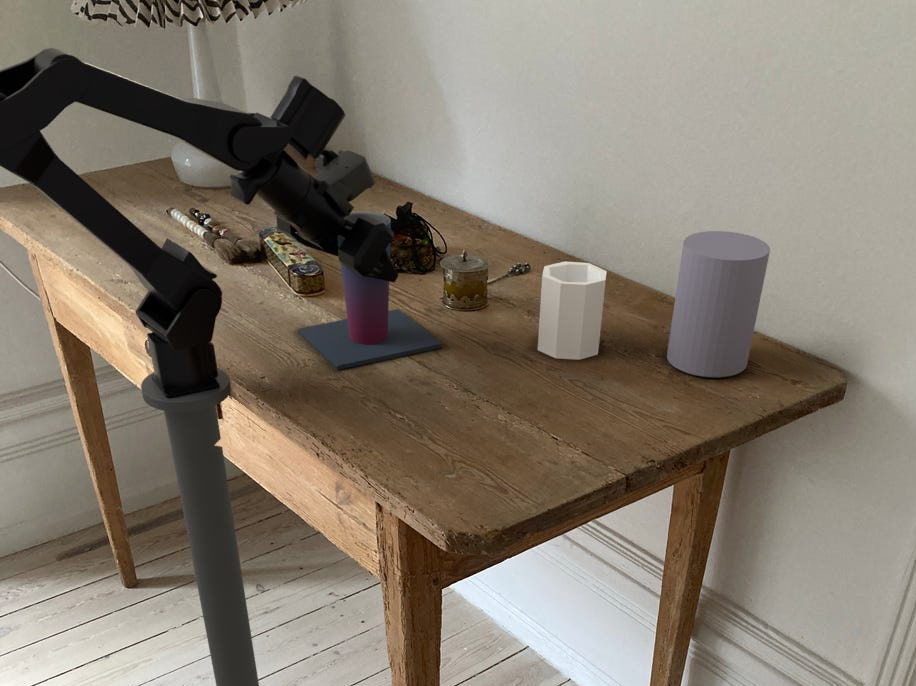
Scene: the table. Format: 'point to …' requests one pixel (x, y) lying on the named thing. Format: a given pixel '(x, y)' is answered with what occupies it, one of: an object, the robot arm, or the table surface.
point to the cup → (366, 297)
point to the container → (716, 303)
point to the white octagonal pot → (571, 310)
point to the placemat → (346, 353)
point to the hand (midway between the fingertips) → (375, 268)
